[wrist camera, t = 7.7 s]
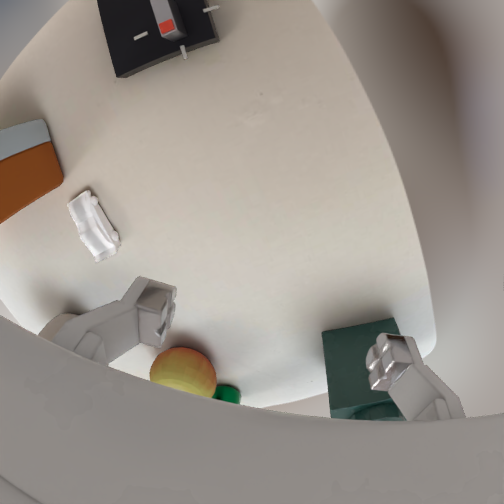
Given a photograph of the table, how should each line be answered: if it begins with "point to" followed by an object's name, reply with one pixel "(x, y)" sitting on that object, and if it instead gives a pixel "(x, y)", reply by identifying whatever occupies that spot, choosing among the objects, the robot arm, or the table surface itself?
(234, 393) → the soda can
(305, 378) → the table surface
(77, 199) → the toy car
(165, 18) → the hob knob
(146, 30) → the black flat square piece
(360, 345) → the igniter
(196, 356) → the apple
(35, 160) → the alarm clock
